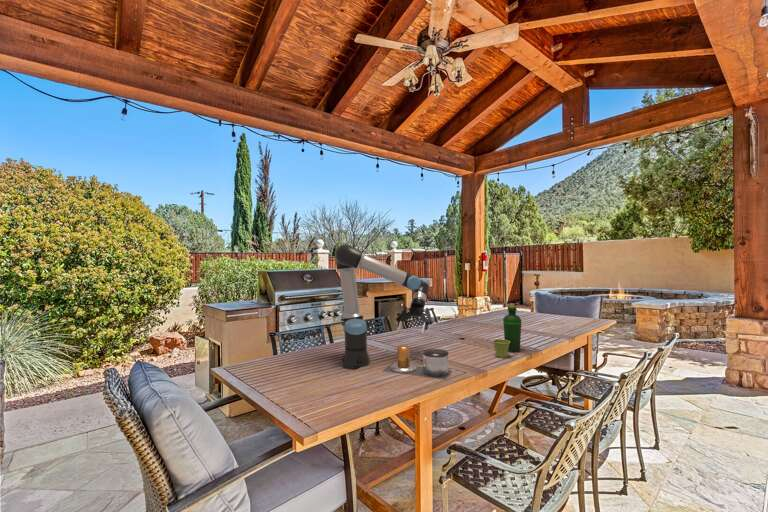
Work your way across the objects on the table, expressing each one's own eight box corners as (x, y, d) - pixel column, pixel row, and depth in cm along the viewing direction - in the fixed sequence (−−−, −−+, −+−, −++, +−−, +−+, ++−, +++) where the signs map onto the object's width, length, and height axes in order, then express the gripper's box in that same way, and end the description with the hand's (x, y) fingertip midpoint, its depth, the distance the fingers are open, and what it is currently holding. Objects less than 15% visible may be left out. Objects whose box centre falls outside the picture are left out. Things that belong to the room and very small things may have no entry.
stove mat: (381, 373, 172) (381, 371, 172) (392, 364, 184) (392, 363, 184) (445, 381, 159) (445, 379, 159) (452, 372, 172) (452, 370, 172)
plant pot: (511, 359, 193) (511, 343, 193) (493, 358, 195) (493, 342, 195) (509, 354, 202) (508, 339, 202) (492, 353, 204) (492, 338, 204)
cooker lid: (386, 371, 171) (386, 348, 171) (396, 363, 183) (396, 342, 183) (411, 374, 166) (411, 351, 166) (419, 366, 178) (419, 344, 178)
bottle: (523, 349, 212) (523, 303, 212) (519, 354, 203) (519, 306, 203) (505, 347, 218) (505, 302, 218) (501, 351, 209) (500, 304, 209)
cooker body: (419, 375, 165) (419, 354, 165) (427, 367, 176) (426, 348, 176) (445, 378, 160) (445, 357, 160) (451, 370, 171) (450, 350, 171)
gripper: (441, 306, 196) (434, 339, 182) (399, 304, 206) (390, 335, 192) (439, 298, 191) (431, 331, 177) (396, 296, 201) (386, 327, 187)
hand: (410, 333), depth 184 cm, fingers open, 13 cm apart
